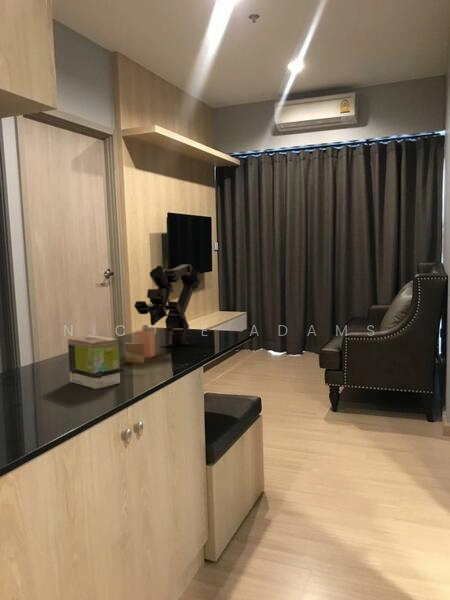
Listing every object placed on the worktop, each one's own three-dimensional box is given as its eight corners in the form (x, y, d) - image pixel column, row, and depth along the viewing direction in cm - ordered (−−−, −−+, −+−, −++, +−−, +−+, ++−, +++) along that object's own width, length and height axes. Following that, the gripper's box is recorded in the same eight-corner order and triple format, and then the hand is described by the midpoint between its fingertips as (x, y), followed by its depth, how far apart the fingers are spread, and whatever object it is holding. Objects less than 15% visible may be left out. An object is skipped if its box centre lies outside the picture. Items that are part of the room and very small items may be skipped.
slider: (143, 354, 203) (142, 323, 201) (155, 355, 201) (153, 324, 200) (138, 357, 198) (136, 325, 197) (149, 357, 197) (148, 326, 195)
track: (146, 355, 207) (145, 335, 206) (162, 356, 205) (161, 336, 204) (125, 365, 192) (124, 343, 191) (142, 366, 189) (141, 344, 188)
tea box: (121, 383, 167) (119, 338, 165) (94, 390, 160) (92, 343, 158) (95, 376, 177) (93, 333, 176) (69, 382, 170) (66, 337, 168)
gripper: (135, 281, 210) (122, 312, 201) (177, 281, 204) (166, 312, 195) (145, 298, 218) (133, 328, 209) (186, 298, 212) (176, 330, 203)
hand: (151, 324), depth 204 cm, fingers closed
